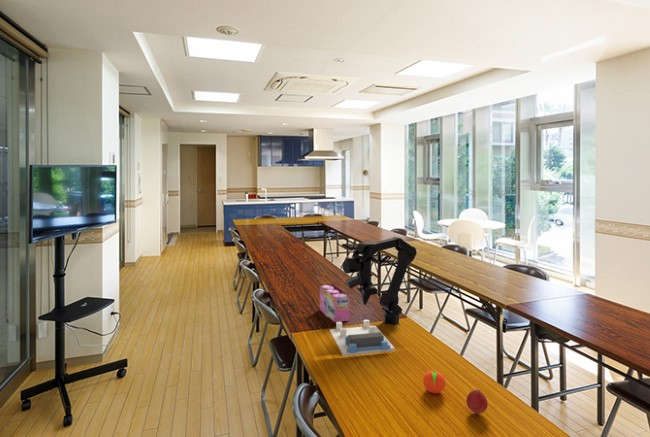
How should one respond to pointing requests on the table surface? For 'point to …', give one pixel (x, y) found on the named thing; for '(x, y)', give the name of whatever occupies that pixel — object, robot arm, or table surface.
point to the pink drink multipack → (334, 303)
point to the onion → (477, 401)
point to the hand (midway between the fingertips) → (364, 304)
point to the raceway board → (354, 331)
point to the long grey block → (366, 339)
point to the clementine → (434, 381)
